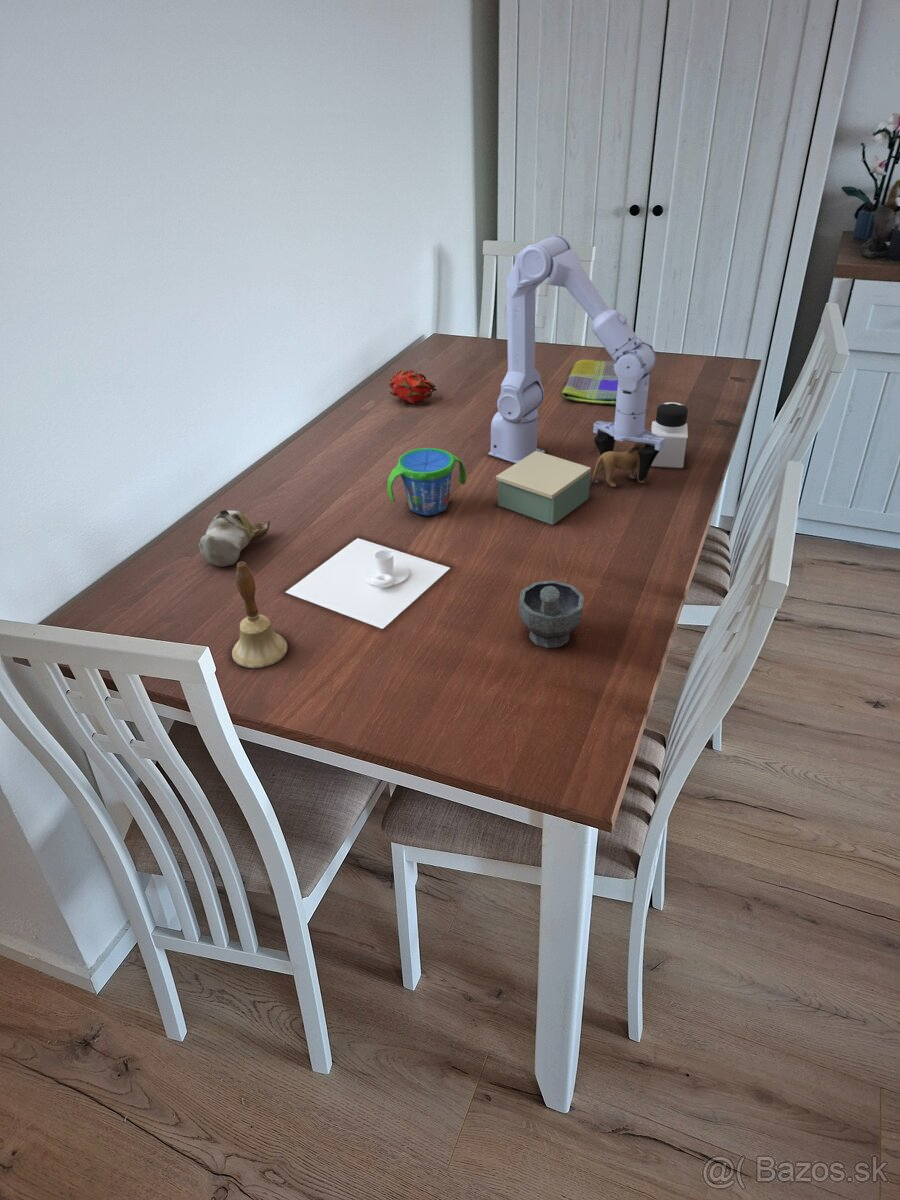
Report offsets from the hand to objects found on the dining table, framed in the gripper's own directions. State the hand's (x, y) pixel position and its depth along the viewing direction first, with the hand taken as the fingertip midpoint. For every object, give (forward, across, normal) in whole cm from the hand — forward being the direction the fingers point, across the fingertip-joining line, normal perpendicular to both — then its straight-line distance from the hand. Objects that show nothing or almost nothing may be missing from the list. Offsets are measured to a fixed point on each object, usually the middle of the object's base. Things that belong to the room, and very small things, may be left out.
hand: (624, 473), depth 169 cm
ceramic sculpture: (+2, -43, -65) cm, 77 cm away
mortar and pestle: (+2, +16, -52) cm, 54 cm away
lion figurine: (+2, 0, 0) cm, 2 cm away
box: (+2, -8, -16) cm, 19 cm away
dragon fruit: (+1, -62, +6) cm, 62 cm away
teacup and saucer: (+2, -17, -56) cm, 59 cm away
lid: (-4, -8, -17) cm, 19 cm away
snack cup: (+2, -25, -32) cm, 40 cm away
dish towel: (+2, -30, +41) cm, 51 cm away
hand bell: (+2, -17, -80) cm, 82 cm away
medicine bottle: (+2, +2, +14) cm, 14 cm away
